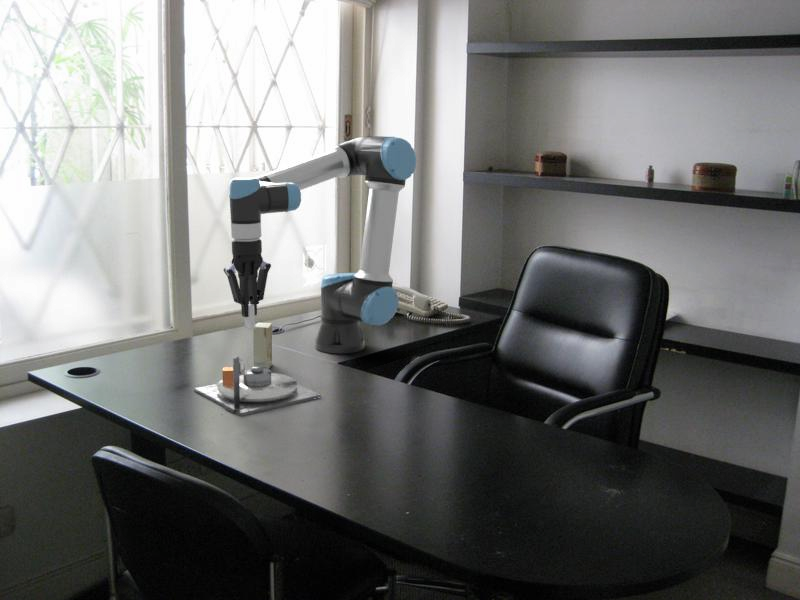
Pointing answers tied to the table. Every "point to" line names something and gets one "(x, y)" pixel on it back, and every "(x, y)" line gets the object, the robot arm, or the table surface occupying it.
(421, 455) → the table surface
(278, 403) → the turntable base
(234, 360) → the post
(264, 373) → the cover
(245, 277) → the robot arm
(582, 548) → the table surface
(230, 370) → the platter
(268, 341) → the skincare box
